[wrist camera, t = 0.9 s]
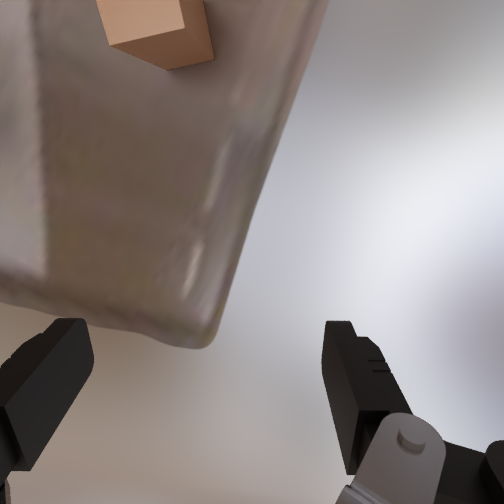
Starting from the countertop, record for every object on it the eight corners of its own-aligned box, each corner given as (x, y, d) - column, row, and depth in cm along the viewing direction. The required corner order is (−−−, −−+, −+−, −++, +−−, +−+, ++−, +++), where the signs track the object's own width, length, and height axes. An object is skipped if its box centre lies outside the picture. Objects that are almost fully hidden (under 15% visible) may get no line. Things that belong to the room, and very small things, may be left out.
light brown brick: (167, 70, 30) (109, 45, 19) (152, 12, 28) (80, -53, 17) (214, 59, 29) (184, 27, 18) (202, -1, 28) (161, -75, 17)
